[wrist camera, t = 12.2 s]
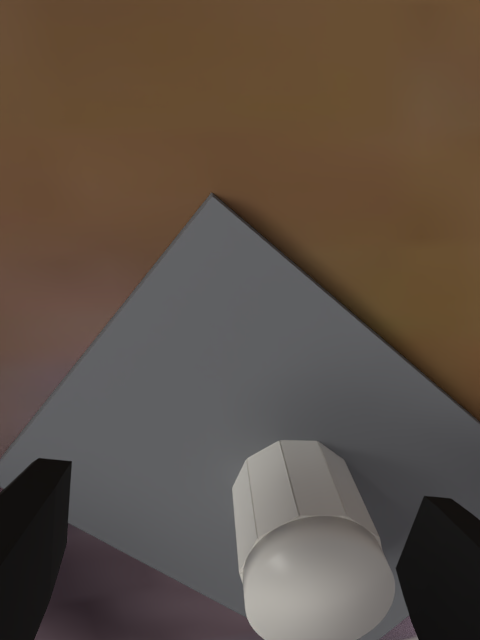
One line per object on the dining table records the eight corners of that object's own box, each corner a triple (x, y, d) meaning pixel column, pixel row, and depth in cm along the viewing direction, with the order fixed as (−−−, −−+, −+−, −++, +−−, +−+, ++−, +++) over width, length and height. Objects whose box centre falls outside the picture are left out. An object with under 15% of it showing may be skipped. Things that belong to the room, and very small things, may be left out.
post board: (2, 455, 19) (-64, 554, 14) (211, 192, 16) (214, 208, 11) (334, 639, 25) (365, 753, 20) (537, 471, 21) (630, 559, 17)
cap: (249, 545, 20) (263, 667, 15) (221, 454, 18) (227, 560, 13) (355, 519, 20) (403, 633, 15) (337, 425, 18) (385, 522, 13)
